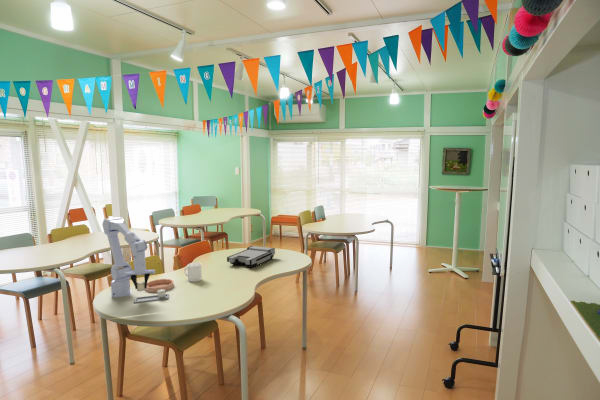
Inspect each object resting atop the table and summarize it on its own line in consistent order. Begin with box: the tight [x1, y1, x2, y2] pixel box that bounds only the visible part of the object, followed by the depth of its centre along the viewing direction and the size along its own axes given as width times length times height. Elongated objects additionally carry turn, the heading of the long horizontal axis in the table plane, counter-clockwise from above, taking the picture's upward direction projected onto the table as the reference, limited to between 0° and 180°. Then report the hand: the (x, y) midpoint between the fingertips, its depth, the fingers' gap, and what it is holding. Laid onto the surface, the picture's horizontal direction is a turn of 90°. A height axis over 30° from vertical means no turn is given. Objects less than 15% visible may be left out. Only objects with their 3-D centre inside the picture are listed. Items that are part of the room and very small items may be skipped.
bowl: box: [144, 278, 175, 293], centre depth 218 cm, size 16×16×3 cm
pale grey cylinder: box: [156, 289, 166, 299], centre depth 201 cm, size 4×4×4 cm
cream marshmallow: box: [136, 281, 146, 292], centre depth 198 cm, size 4×4×4 cm
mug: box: [184, 262, 203, 283], centre depth 233 cm, size 12×8×10 cm
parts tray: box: [133, 293, 170, 304], centre depth 200 cm, size 17×7×1 cm, turn 108°
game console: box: [226, 245, 276, 268], centre depth 272 cm, size 21×32×8 cm, turn 154°
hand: (141, 288), depth 198 cm, fingers closed on cream marshmallow, 4 cm apart
